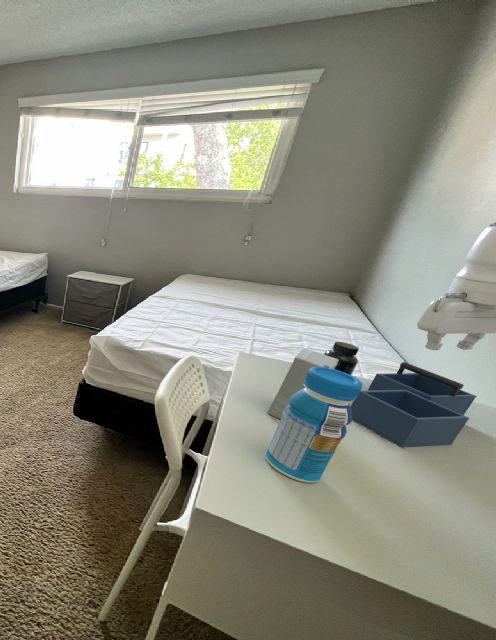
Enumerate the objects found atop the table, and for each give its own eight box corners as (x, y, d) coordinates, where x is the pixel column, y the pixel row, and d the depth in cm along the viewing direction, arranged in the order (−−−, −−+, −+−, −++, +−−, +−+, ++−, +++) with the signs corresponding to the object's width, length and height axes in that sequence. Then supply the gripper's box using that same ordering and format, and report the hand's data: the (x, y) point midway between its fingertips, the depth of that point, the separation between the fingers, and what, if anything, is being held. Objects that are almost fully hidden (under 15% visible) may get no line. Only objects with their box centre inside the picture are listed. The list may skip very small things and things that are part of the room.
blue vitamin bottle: (258, 463, 66) (298, 371, 59) (269, 445, 71) (308, 359, 64) (316, 492, 60) (369, 394, 53) (324, 470, 65) (373, 378, 58)
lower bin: (390, 414, 86) (405, 389, 83) (451, 444, 76) (469, 417, 73) (345, 415, 84) (358, 390, 81) (401, 447, 74) (418, 419, 71)
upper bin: (404, 395, 95) (424, 361, 91) (460, 420, 85) (485, 383, 81) (364, 396, 93) (382, 362, 89) (416, 422, 83) (439, 384, 79)
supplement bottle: (306, 378, 101) (323, 340, 97) (322, 375, 103) (339, 339, 99) (334, 390, 95) (354, 351, 91) (350, 388, 97) (370, 349, 93)
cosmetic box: (275, 403, 87) (300, 346, 81) (312, 417, 82) (341, 358, 76) (265, 414, 82) (290, 354, 76) (304, 430, 77) (334, 368, 71)
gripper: (462, 297, 73) (430, 355, 78) (536, 298, 76) (500, 354, 81) (424, 288, 79) (395, 343, 84) (493, 290, 82) (462, 343, 87)
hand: (447, 349), depth 83 cm, fingers open, 8 cm apart
